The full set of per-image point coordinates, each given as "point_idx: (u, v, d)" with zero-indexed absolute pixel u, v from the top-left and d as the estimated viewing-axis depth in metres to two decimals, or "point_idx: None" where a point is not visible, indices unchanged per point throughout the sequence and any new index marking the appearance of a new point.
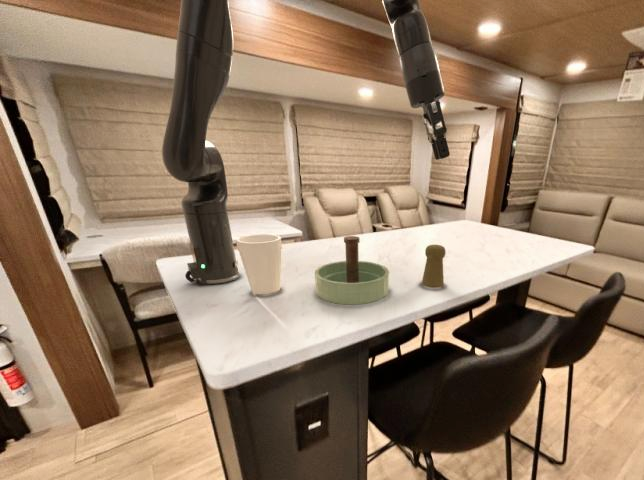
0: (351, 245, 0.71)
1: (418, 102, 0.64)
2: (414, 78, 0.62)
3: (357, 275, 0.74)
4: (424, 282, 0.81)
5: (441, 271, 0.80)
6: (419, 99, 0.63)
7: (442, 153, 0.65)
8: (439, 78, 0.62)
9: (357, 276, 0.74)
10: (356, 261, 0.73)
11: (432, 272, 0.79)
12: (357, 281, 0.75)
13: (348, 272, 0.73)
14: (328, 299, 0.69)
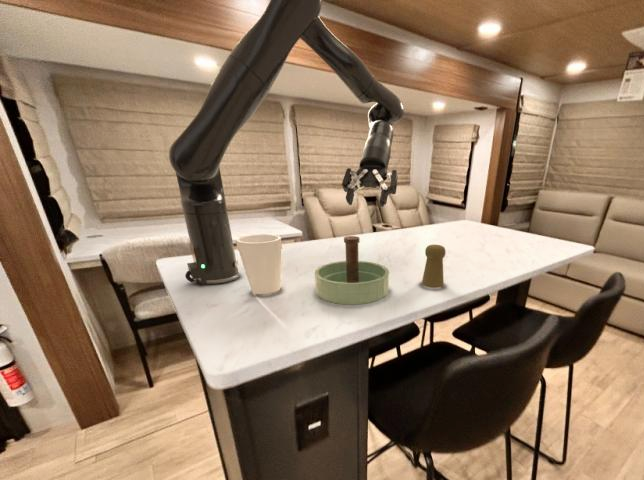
0: (351, 245, 0.71)
1: (381, 162, 0.81)
2: (386, 151, 0.83)
3: (357, 275, 0.74)
4: (424, 282, 0.81)
5: (441, 271, 0.80)
6: (383, 162, 0.81)
7: (385, 200, 0.78)
8: None
9: (357, 276, 0.74)
10: (356, 261, 0.73)
11: (432, 272, 0.79)
12: (357, 281, 0.75)
13: (348, 272, 0.73)
14: (328, 299, 0.69)
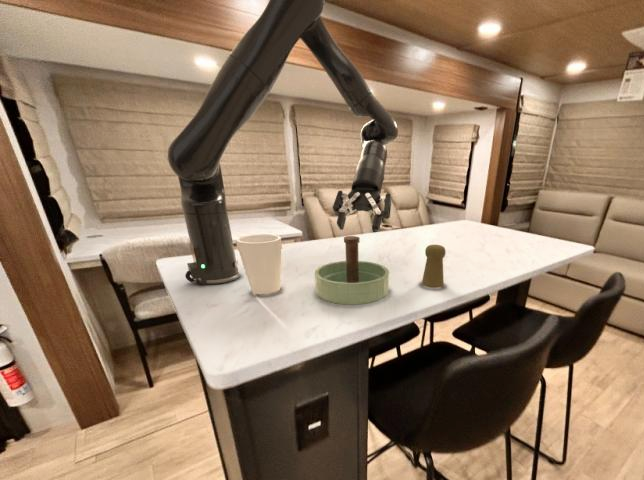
0: (351, 245, 0.71)
1: (374, 185, 0.77)
2: (379, 173, 0.79)
3: (357, 275, 0.74)
4: (424, 282, 0.81)
5: (441, 271, 0.80)
6: (376, 184, 0.77)
7: (378, 226, 0.74)
8: None
9: (357, 276, 0.74)
10: (356, 261, 0.73)
11: (432, 272, 0.79)
12: (357, 281, 0.75)
13: (348, 272, 0.73)
14: (328, 299, 0.69)
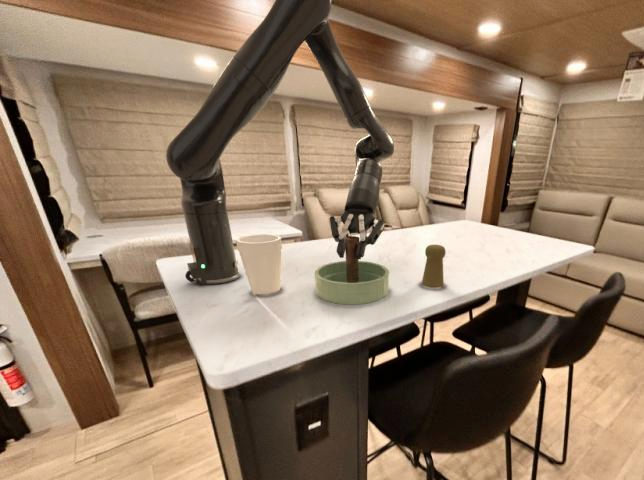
0: (351, 245, 0.71)
1: (368, 206, 0.73)
2: (374, 193, 0.75)
3: (357, 275, 0.74)
4: (424, 282, 0.81)
5: (441, 271, 0.80)
6: (371, 206, 0.74)
7: (362, 253, 0.71)
8: None
9: (357, 276, 0.74)
10: (356, 261, 0.73)
11: (432, 272, 0.79)
12: (357, 281, 0.75)
13: (348, 272, 0.73)
14: (328, 299, 0.69)
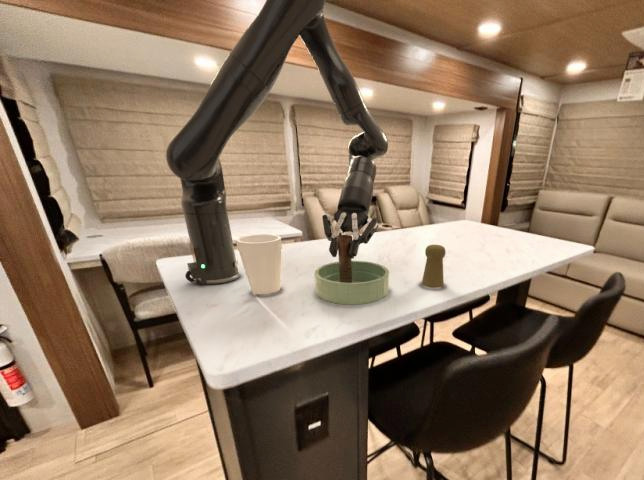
0: (344, 244, 0.69)
1: (362, 204, 0.72)
2: (367, 191, 0.74)
3: (350, 274, 0.73)
4: (424, 282, 0.81)
5: (441, 271, 0.80)
6: (364, 204, 0.72)
7: (355, 252, 0.70)
8: None
9: (350, 275, 0.73)
10: (349, 260, 0.71)
11: (432, 272, 0.79)
12: (350, 280, 0.74)
13: (341, 271, 0.72)
14: (328, 299, 0.69)
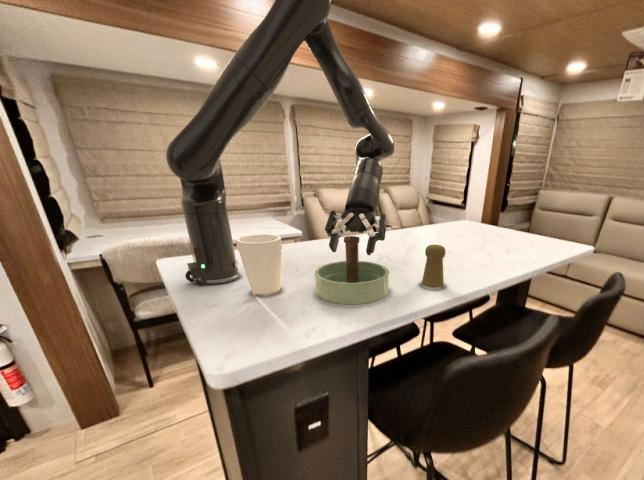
0: (351, 245, 0.71)
1: (369, 205, 0.73)
2: (374, 192, 0.75)
3: (357, 275, 0.74)
4: (424, 282, 0.81)
5: (441, 271, 0.80)
6: (371, 205, 0.74)
7: (372, 249, 0.71)
8: None
9: (357, 276, 0.74)
10: (356, 261, 0.73)
11: (432, 272, 0.79)
12: (357, 281, 0.75)
13: (348, 272, 0.73)
14: (328, 299, 0.69)
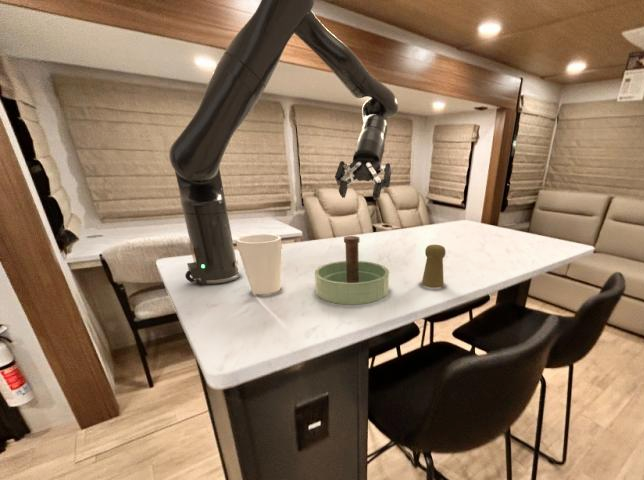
0: (351, 245, 0.71)
1: (375, 155, 0.81)
2: (380, 144, 0.82)
3: (357, 275, 0.74)
4: (424, 282, 0.81)
5: (441, 271, 0.80)
6: (377, 155, 0.81)
7: (378, 193, 0.78)
8: None
9: (357, 276, 0.74)
10: (356, 261, 0.73)
11: (432, 272, 0.79)
12: (357, 281, 0.75)
13: (348, 272, 0.73)
14: (328, 299, 0.69)
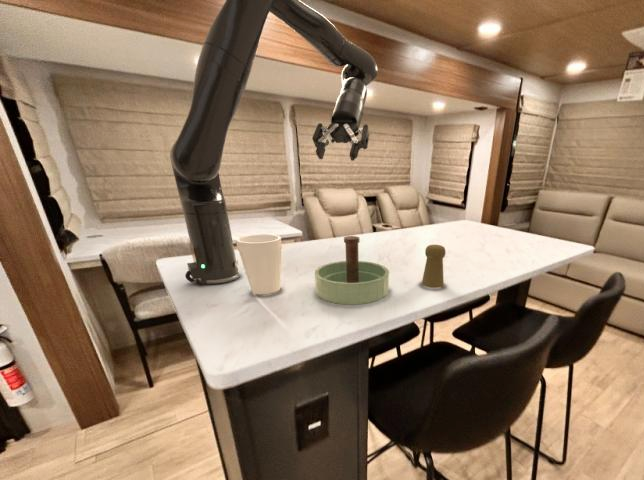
0: (351, 245, 0.71)
1: (353, 116, 0.80)
2: (358, 106, 0.82)
3: (357, 275, 0.74)
4: (424, 282, 0.81)
5: (441, 271, 0.80)
6: (355, 116, 0.80)
7: (355, 153, 0.77)
8: None
9: (357, 276, 0.74)
10: (356, 261, 0.73)
11: (432, 272, 0.79)
12: (357, 281, 0.75)
13: (348, 272, 0.73)
14: (328, 299, 0.69)
